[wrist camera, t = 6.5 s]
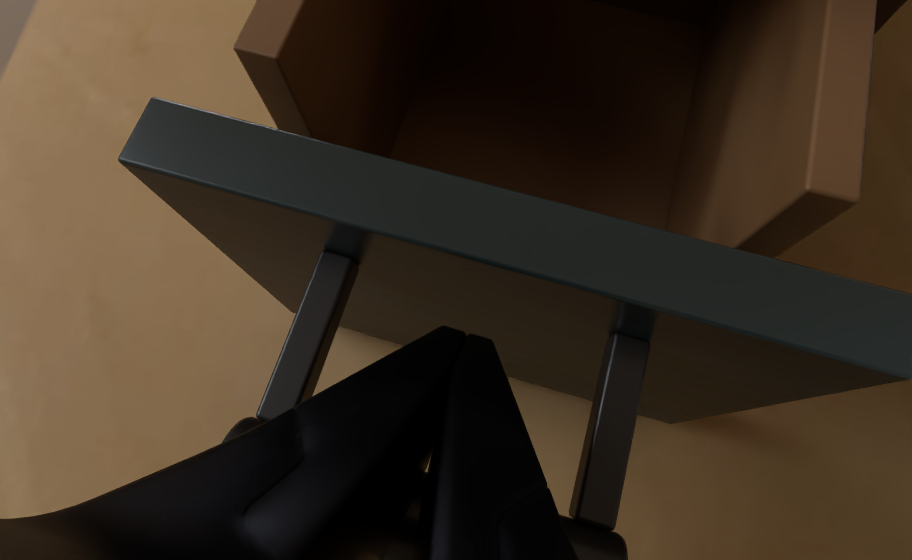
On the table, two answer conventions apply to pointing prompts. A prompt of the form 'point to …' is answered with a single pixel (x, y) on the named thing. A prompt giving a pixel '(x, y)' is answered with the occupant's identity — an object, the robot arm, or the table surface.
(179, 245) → the table surface
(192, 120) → the drawer
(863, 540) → the table surface
